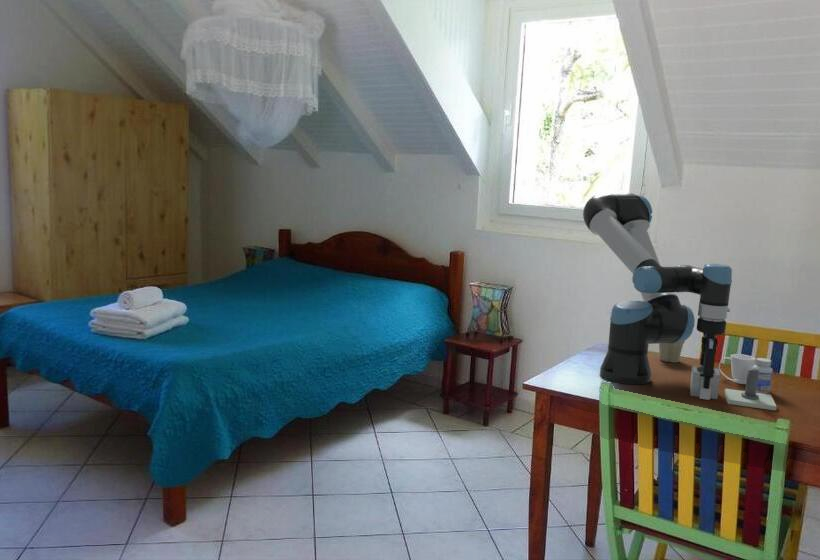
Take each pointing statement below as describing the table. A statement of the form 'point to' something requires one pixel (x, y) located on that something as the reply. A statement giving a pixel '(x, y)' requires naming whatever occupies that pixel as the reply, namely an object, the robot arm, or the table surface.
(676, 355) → the flower pot
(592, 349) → the table surface
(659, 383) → the table surface
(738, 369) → the cup
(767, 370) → the pill bottle
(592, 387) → the table surface
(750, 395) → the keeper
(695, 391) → the hollow grey square tube
